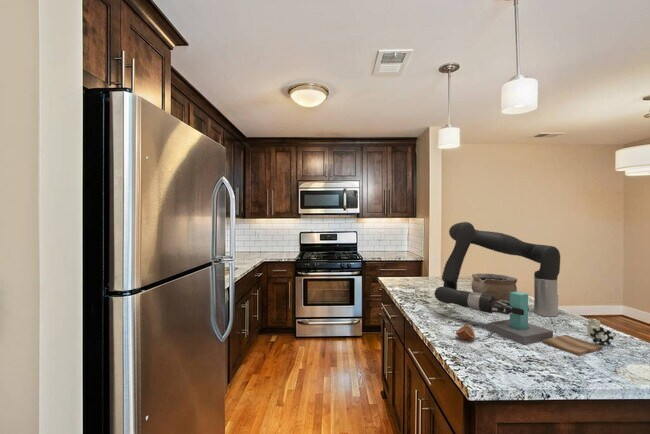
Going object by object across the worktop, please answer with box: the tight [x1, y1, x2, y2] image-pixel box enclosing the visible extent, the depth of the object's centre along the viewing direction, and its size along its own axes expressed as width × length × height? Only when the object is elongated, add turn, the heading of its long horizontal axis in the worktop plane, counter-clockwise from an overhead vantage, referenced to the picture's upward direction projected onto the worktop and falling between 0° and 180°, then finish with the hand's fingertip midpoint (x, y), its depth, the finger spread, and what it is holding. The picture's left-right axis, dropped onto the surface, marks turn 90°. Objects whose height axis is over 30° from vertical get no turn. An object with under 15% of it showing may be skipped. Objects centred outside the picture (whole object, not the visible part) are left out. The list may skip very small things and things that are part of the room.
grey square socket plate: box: [486, 318, 554, 346], centre depth 126 cm, size 16×16×3 cm
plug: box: [509, 291, 529, 330], centre depth 126 cm, size 4×4×15 cm
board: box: [541, 334, 603, 357], centre depth 115 cm, size 14×12×1 cm
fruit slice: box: [455, 323, 476, 341], centre depth 120 cm, size 8×7×5 cm
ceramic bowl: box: [471, 272, 518, 301], centre depth 172 cm, size 22×22×15 cm
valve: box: [586, 318, 614, 347], centre depth 121 cm, size 7×7×12 cm
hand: (526, 310), depth 124 cm, fingers closed on plug, 5 cm apart
